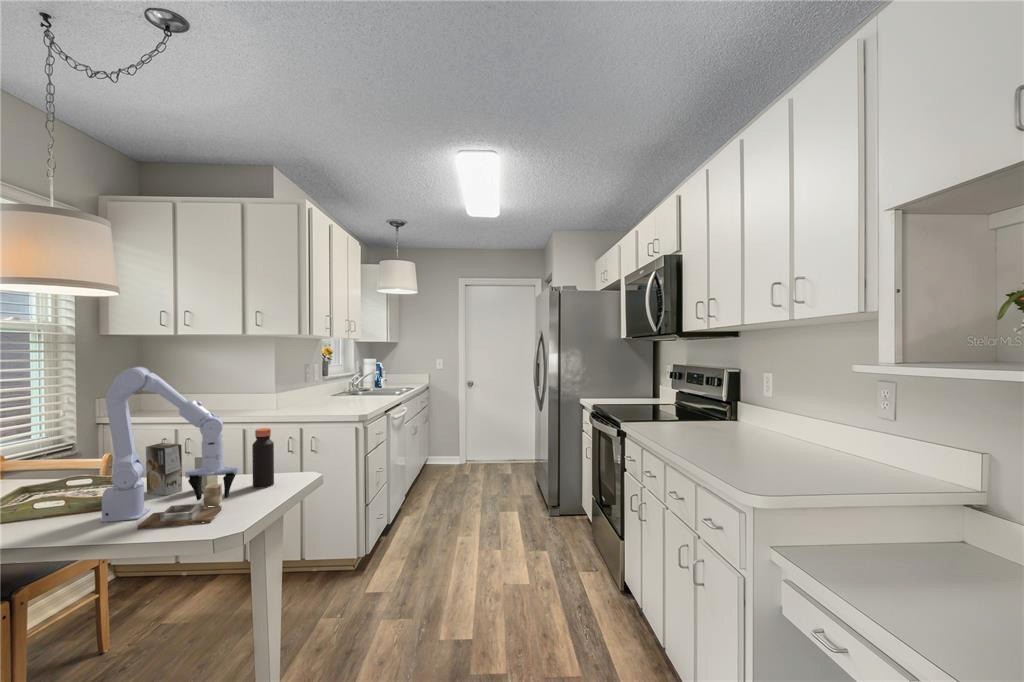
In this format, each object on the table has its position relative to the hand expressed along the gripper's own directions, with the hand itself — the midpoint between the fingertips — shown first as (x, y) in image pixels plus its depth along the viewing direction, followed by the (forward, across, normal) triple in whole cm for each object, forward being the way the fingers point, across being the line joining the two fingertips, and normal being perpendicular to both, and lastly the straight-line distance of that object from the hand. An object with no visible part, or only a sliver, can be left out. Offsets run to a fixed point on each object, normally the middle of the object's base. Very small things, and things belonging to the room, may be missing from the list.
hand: (213, 498), depth 157 cm
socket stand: (+2, -5, -11) cm, 12 cm away
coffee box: (+2, -20, +19) cm, 28 cm away
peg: (+2, 0, 0) cm, 2 cm away
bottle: (+2, +11, +18) cm, 21 cm away
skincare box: (+2, -7, +18) cm, 19 cm away
